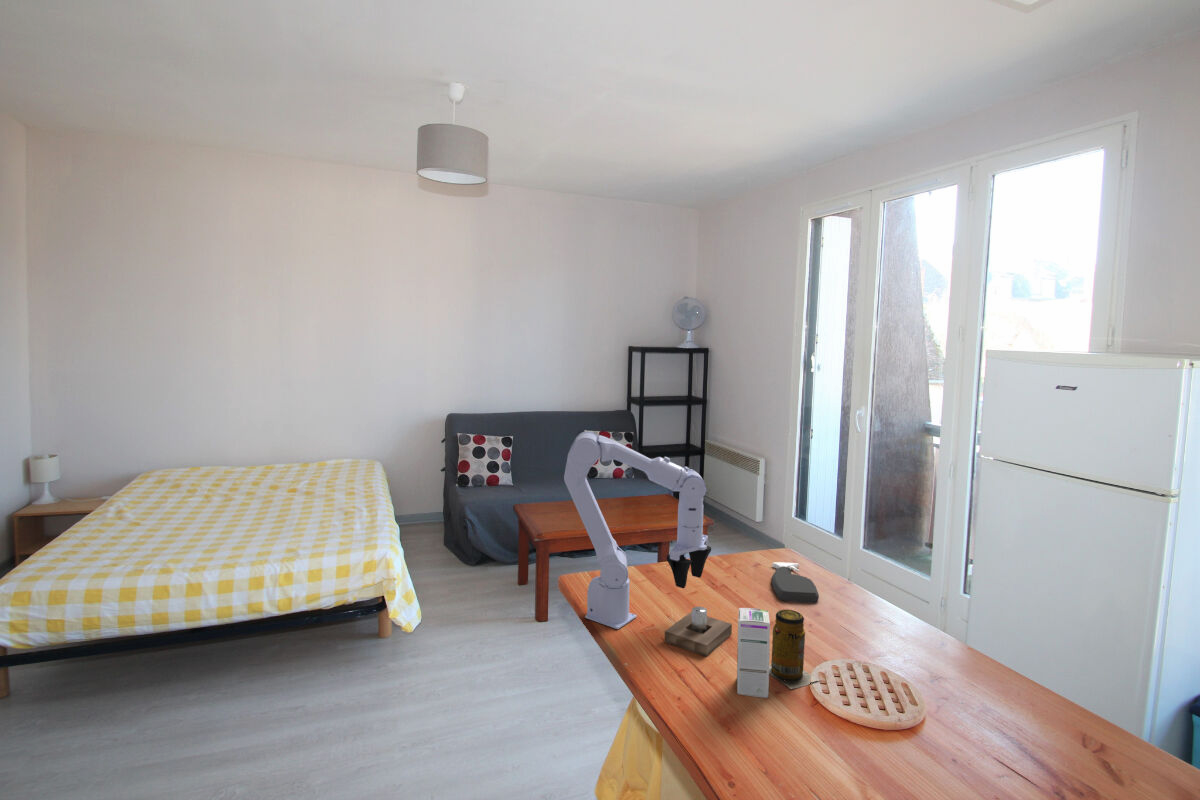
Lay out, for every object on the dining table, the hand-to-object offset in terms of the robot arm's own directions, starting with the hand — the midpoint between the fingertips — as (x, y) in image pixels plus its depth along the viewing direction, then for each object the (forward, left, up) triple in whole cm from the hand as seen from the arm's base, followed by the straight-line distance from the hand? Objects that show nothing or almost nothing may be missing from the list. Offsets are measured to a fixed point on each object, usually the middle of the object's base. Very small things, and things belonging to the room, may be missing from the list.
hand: (688, 581), depth 143 cm
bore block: (+6, -6, -9) cm, 13 cm away
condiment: (+27, -8, -10) cm, 30 cm away
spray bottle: (+11, +37, -10) cm, 40 cm away
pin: (+6, -6, -9) cm, 12 cm away
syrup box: (+23, -17, -10) cm, 30 cm away
